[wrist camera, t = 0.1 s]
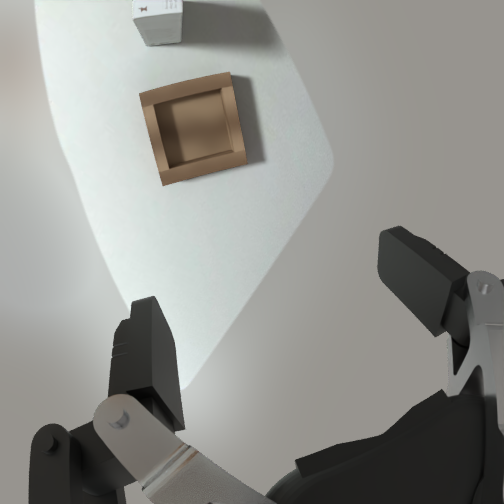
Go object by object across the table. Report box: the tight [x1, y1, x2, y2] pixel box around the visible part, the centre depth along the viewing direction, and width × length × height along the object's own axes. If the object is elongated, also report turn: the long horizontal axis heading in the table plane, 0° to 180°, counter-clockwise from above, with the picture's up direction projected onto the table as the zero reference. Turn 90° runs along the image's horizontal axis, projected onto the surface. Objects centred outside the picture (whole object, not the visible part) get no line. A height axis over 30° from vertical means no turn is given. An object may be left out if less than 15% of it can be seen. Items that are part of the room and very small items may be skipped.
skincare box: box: [132, 0, 183, 46], centre depth 21 cm, size 6×4×12 cm
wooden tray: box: [139, 72, 248, 186], centre depth 32 cm, size 11×10×3 cm
